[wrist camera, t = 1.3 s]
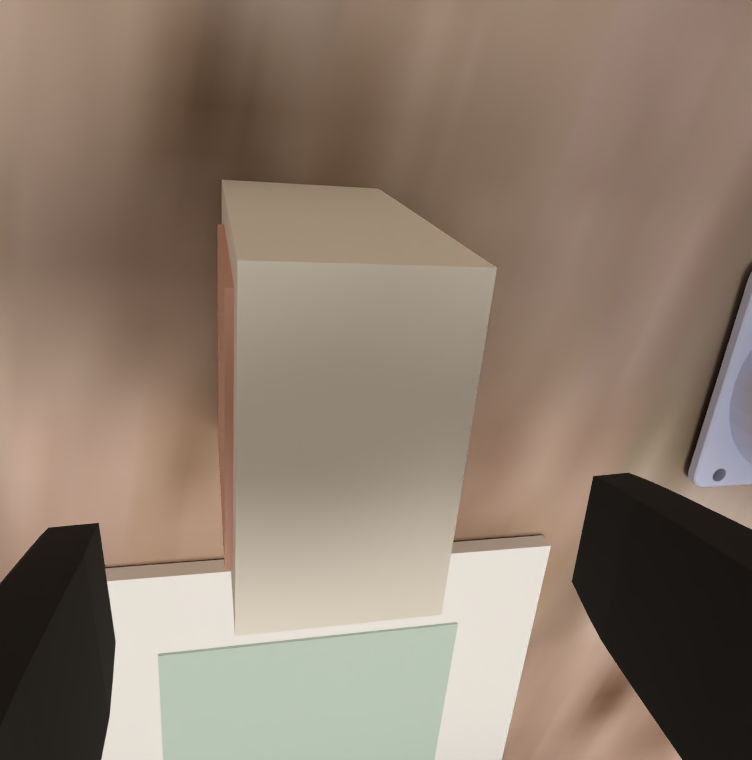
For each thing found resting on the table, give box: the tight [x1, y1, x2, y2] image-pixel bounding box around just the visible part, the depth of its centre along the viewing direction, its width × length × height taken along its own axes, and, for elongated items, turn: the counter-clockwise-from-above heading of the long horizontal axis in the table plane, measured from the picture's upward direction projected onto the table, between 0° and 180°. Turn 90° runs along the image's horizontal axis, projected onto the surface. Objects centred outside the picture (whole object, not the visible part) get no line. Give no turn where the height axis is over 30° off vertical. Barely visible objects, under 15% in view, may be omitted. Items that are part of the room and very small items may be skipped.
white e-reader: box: [101, 535, 551, 760], centre depth 23 cm, size 16×12×3 cm
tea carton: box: [217, 180, 497, 636], centre depth 15 cm, size 4×7×8 cm, turn 175°
